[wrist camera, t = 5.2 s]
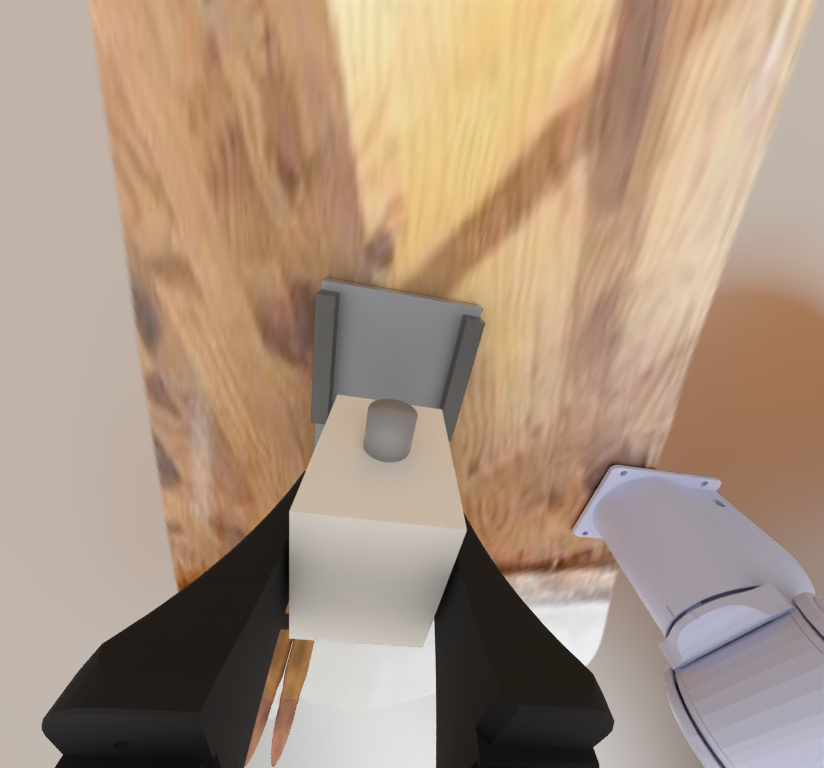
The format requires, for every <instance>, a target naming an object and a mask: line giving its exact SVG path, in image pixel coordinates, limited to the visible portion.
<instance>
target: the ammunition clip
mask: <svg viewBox="0 0 824 768" xmlns="http://www.w3.org/2000/svg"><path fill="white" fill-rule="evenodd" d="M292 641H293V644H292ZM291 644H292V648H291ZM313 644H314V640H302V639H289V602H288V605H287V608H286V612H285V615H284V619H283V622H282V626H281V630H280V633H279V637H278V640H277V644H276V648H275V651H274V655H273V658H272V662H271V666H270V669H269V673H268V677H267V681H266V684H265V688H264V692H263V696H262V700H261V703H260V707H259V711H258V715H257V719H256V722H255V726H254V730H253V734H252V738H251V742H250V746H249V750H248V754H247V758H246V762H245V766H246V765H247V764H248V762H249V761H250V759H251V757H252V755H253V754H254V751H255V749H256V747H257V745H258V743H259V740H260V738H261V736H262V733H263V730H264V727H265V725H266V722H267V719H268V715H269V712H270V709H271V705H272V703H273V700H274V697H275V694H276V691H277V688H278V686H279V683H280V681H281V679H282V676H283V673H284V669H285V666H286V662H287V659H288V655H289V652H290V648H291V652H290V655H289V659H288V663H287V667H286V670H285V675H284V683H283V690H282V694H281V698H280V704H279V708H278V712H277V716H276V722H275V726H274V732H273V738H272V749H271V765H272V766H273V767H274V766H275V765H276V763H277V761H278V760H279V758H280V756H281V753H282V751H283V749H284V746H285V744H286V741H287V738H288V735H289V732H290V729H291V725H292V722H293V719H294V715H295V710H296V706H297V704H298V700H299V696H300V692H301V689H302V686H303V684H304V681H305V678H306V675H307V671H308V666H309V662H310V658H311V653H312V649H313ZM245 766H244V767H245Z"/></svg>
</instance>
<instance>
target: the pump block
mask: <svg viewBox="0 0 824 768" xmlns="http://www.w3.org/2000/svg"><path fill="white" fill-rule="evenodd" d="M466 531H467V528H466V523H465V518H464V513H463V508H462V504H461V499H460V494H459V489H458V484H457V479H456V475H455V470H454V465H453V460H452V455H451V451H450V446H449V441H448V436H447V431H446V426H445V422H444V417H443V412H442V409H435V408H428V407H421V406H414V405H409V404H408V403H406V402H403V401H400V400H396V399H379V400H373V399H366V398H359V397H352V396H345V395H337V397H336V399H335V402H334V404H333V407H332V409H331V412H330V414H329V416H328V419H327V421H326V424H325V426H324V429H323V431H322V433H321V436H320V438H319V441H318V443H317V445H316V448H315V450H314V453H313V455H312V458H311V460H310V462H309V465H308V467H307V470H306V472H305V475H304V477H303V479H302V482H301V484H300V487H299V489H298V492H297V494H296V496H295V499H294V501H293V504H292V506H291V509H290V511H289V639H302V640H317V641H332V642H347V643H362V644H378V645H393V646H408V647H423V646H424V643H425V640H426V638H427V635H428V632H429V630H430V627H431V624H432V622H433V619H434V616H435V614H436V611H437V608H438V606H439V603H440V600H441V598H442V595H443V592H444V590H445V587H446V585H447V582H448V579H449V577H450V574H451V571H452V569H453V566H454V563H455V561H456V558H457V555H458V553H459V550H460V547H461V545H462V542H463V539H464V537H465V534H466Z"/></svg>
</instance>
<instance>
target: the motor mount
mask: <svg viewBox="0 0 824 768" xmlns="http://www.w3.org/2000/svg"><path fill="white" fill-rule="evenodd" d="M481 313H482V308H481V307H480V306H479V305H476V304H471V303H465V302H460V301H454V300H448V299H443V298H437V297H432V296H426V295H421V294H415V293H410V292H404V291H398V290H393V289H387V288H382V287H376V286H371V285H365V284H359V283H354V282H348V281H343V280H337V279H332V278H324V279H323V280H322V286H321V290H320V291H319V292H317V293H316V296H315V324H314V351H313V379H312V406H311V423H315V443H314V450H315V448H316V445H317V443H318V441H319V438H320V436H321V433H322V431H323V429H324V426H325V424H326V421H327V419H328V416H329V414H330V412H331V409H332V407H333V404H334V402H335V399H336V397H337V395H345V396H352V397H359V398H366V399H373V400H379V399H396V400H400V401H403V402H406V403H408V404H409V405H414V406H421V407H428V408H435V409H442V412H443V417H444V422H445V426H446V431H447V436H448V441H451V438H452V435H453V432H454V428H455V425H456V421H457V418H458V414H459V411H460V407H461V404H462V401H463V397H464V394H465V390H466V387H467V383H468V380H469V376H470V373H471V370H472V366H473V363H474V359H475V356H476V352H477V349H478V346H479V342H480V339H481V335H482V332H483V328H484V325H485V323H484V321H483V320H482V319H481V318H480V316H481Z"/></svg>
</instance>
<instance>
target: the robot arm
mask: <svg viewBox="0 0 824 768" xmlns="http://www.w3.org/2000/svg"><path fill="white" fill-rule="evenodd" d="M305 472H306V471H304V472H303V473H302V475H301V476H300V478H299V479H298V480H297V482H296V483H295V484H294V485H293V487H292V488H291V489H290V490H289V492H288V493H287V494H286V495H285V496H284V497H283V499H282V500H281V501H280V502H279V503H278V504H277V505H276V506H275V508H274V509H273V510H272V511H271V512H270V513H269V514H268V515H267V516H266V517H265V518H264V519H263V520H262V521H261V522H260V523H259V524H258V525H257V526H256V527H255V528H254V529H253V531H252V532H251V533H249V534H248V535H247V536H246V537H245V538H244V539H243V540H242V541H241V542H240V543H239V544H238V545H237V546H236V547H234V548H233V549H232V550H231V551H230V552H229V553H228V554H226V555H225V556H224V557H223V558H222V559H221V560H219V561H218V562H217V563H216V564H215V565H213V566H212V567H211V568H210V569H208V570H207V571H206V572H205V573H204V574H202V575H201V576H200V577H198V578H197V579H196V580H195V581H193V582H192V583H191V584H189V585H188V586H187V587H185V588H184V589H182V590H181V591H180V592H178V593H177V594H176V595H174V596H173V597H171V598H170V599H169V600H167V601H166V602H165V603H163V604H162V605H161V606H159V607H158V608H156V609H155V610H153V611H152V612H150V613H149V614H148V615H146V616H145V617H143V618H141V619H140V620H138V621H137V622H135V623H134V624H132V625H131V626H129V627H127V628H126V629H124V630H123V631H122V632H120V633H118V634H117V635H115V636H114V637H112V638H111V639H109V640H107V641H106V642H104V643H103V644H102V645H101V646H100V647H99V648H98V649H97V650H96V652H95V653H94V654H93V655H92V656H91V657H90V659H89V660H88V661H87V662H86V663H85V664H84V665H83V667H82V668H81V669H80V670H79V671H78V673H77V674H76V675H75V677H74V678H73V679H72V681H71V682H70V683H69V685H68V686H67V687H66V689H65V690H64V691H63V693H62V694H61V695H60V697H59V698H58V700H57V701H56V702H55V704H54V705H53V706H52V708H51V709H50V710H49V712H48V713H47V715H46V716H45V717H44V718H43V722H42V731H43V732H44V734H45V736H46V737H47V738H48V739H49V740H50V741H51V742H52V743H53V744H54V745H55V746H56V748H57V749H58V750H59V751H60V752H61V753H62V754H63V756H62V757H61V759H60V760H59V762H58V764H57V765H56V767H55V768H244V766H245V762H246V758H247V754H248V750H249V746H250V742H251V738H252V734H253V730H254V726H255V722H256V719H257V715H258V711H259V707H260V703H261V700H262V696H263V692H264V688H265V684H266V681H267V677H268V673H269V669H270V666H271V662H272V658H273V655H274V651H275V648H276V644H277V640H278V637H279V633H280V630H281V626H282V622H283V619H284V615H285V612H286V608H287V605H288V602H289V511H290V509H291V506H292V504H293V501H294V499H295V496H296V494H297V492H298V489H299V487H300V484H301V482H302V479H303V477H304V475H305ZM720 486H721V481H719V480H718V479H717V478H713V477H706V476H699V475H691V474H684V473H676V472H669V471H661V470H654V469H646V468H639V467H631V466H624V465H613V466H611V467H610V468H609V470H608V471H607V473H606V475H605V476H604V478H603V480H602V481H601V483H600V485H599V486H598V488H597V489H596V491H595V493H594V494H593V496H592V498H591V499H590V501H589V503H588V504H587V506H586V508H585V509H584V511H583V512H582V514H581V516H580V517H579V519H578V521H577V522H576V524H575V526H574V527H573V529H572V532H573V533H574V535H575V536H580V537H589V538H599V539H603V540H604V542H605V543H606V545H607V547H608V548H609V550H610V551H611V553H612V554H613V556H614V558H615V559H616V561H617V562H618V564H619V565H620V567H621V569H622V570H623V572H624V573H625V575H626V576H627V578H628V580H629V581H630V583H631V584H632V586H633V587H634V589H635V591H636V592H637V594H638V595H639V597H640V598H641V600H642V602H643V603H644V604H645V606H646V608H647V609H648V611H649V612H650V614H651V616H652V617H653V619H654V621H655V622H656V624H657V625H658V627H659V628H660V630H661V632H662V633H663V635H664V636H665V638H666V640H664V641H663V642H662V643H660V644H659V648H660V649H661V651H662V653H663V655H664V656H665V658H666V659H667V661H668V663H669V664H668V665H667V666H666V668H665V671H664V682H665V687H666V691H667V695H668V699H669V703H670V706H671V708H672V711H673V714H674V716H675V718H676V720H677V722H678V725H679V726H680V728H681V730H682V732H683V734H684V736H685V738H686V739H687V741H688V742H689V744H690V746H691V748H692V749H693V751H694V752H695V754H696V755H697V756H698V758H699V760H700V761H701V763H702V764H703V765H704V767H705V768H824V597H821V596H817V595H816V594H815V591H814V588H813V586H812V584H811V582H810V580H809V578H808V576H807V574H806V573H805V571H804V570H803V568H802V567H801V566H800V564H799V563H798V562H797V561H796V560H795V559H794V558H793V557H792V556H791V555H790V554H789V553H788V552H787V551H786V550H784V549H783V548H782V547H781V546H780V545H779V544H777V543H776V542H775V541H774V540H773V539H771V538H770V537H769V536H768V535H767V534H766V533H764V532H763V531H762V530H761V529H760V528H758V527H757V526H756V525H755V524H754V523H753V522H751V521H750V520H749V519H747V517H745V516H744V515H743V514H742V513H741V512H740V511H738V510H737V509H736V508H735V507H734V506H732V505H731V504H730V503H729V502H728V501H726V500H725V499H724V498H723V497H722V496H721V495H719V494H718V493H717V492H716V490H717V489H718V488H719V487H720ZM463 513H464V512H463ZM464 518H465V523H466V528H467V531H466V534H465V537H464V539H463V542H462V545H461V547H460V550H459V553H458V555H457V558H456V561H455V563H454V566H453V569H452V571H451V574H450V577H449V579H448V582H447V585H446V587H445V590H444V592H443V595H442V598H441V600H440V603H439V606H438V608H437V611H436V614H435V616H434V622H435V654H436V719H437V720H436V726H437V728H436V736H437V738H436V768H599V762H598V760H597V757H596V754H595V751H594V749H593V747H594V746H595V745H596V744H598V743H599V742H600V741H601V740H603V739H604V738H605V737H606V736H608V734H609V733H610V732H611V731H612V729H613V725H614V719H613V717H612V715H611V712H610V710H609V707H608V705H607V703H606V700H605V698H604V695H603V693H602V691H601V689H600V687H599V685H598V683H597V681H596V679H595V677H594V675H593V674H592V672H590V670H589V669H587V668H586V667H585V666H584V665H583V664H582V663H581V662H580V661H579V660H578V659H577V658H576V657H575V656H574V655H573V654H572V653H571V652H570V651H569V650H568V649H567V648H566V647H565V646H564V645H562V644H561V642H560V641H559V640H558V639H557V638H556V637H555V636H554V635H553V634H552V633H551V632H550V631H549V630H548V629H547V628H546V627H545V626H544V625H543V624H542V622H541V621H540V620H539V619H538V618H537V617H536V615H535V614H534V613H533V612H532V611H531V610H530V609H529V607H528V606H527V605H526V604H525V603H524V602H523V600H522V599H521V598H520V597H519V596H518V594H517V593H516V592H515V591H514V589H513V588H512V587H511V585H510V584H509V583H508V581H507V580H506V579H505V577H504V576H503V575H502V573H501V572H500V571H499V569H498V568H497V566H496V565H495V563H494V562H493V560H492V559H491V558H490V556H489V554H488V553H487V551H486V550H485V548H484V547H483V545H482V543H481V542H480V540H479V539H478V537H477V535H476V533H475V532H474V530H473V528H472V526H471V525H470V523H469V521H468V519H467V517H466V516H465V514H464Z"/></svg>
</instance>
